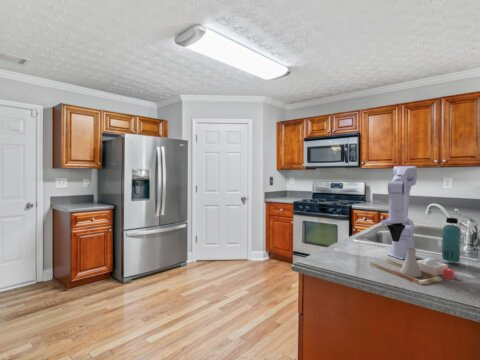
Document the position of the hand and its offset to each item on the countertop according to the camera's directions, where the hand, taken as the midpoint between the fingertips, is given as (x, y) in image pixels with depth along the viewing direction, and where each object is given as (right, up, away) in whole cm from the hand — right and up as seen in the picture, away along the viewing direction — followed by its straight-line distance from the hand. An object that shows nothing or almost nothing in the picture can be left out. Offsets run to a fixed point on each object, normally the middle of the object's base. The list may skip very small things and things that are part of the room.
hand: (395, 241), depth 122 cm
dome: (+10, -10, -7) cm, 16 cm away
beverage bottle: (+26, -11, +3) cm, 28 cm away
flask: (0, -11, -11) cm, 15 cm away
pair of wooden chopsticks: (-2, -11, -8) cm, 13 cm away
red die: (+13, -11, -14) cm, 22 cm away
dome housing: (+10, -11, -7) cm, 16 cm away
